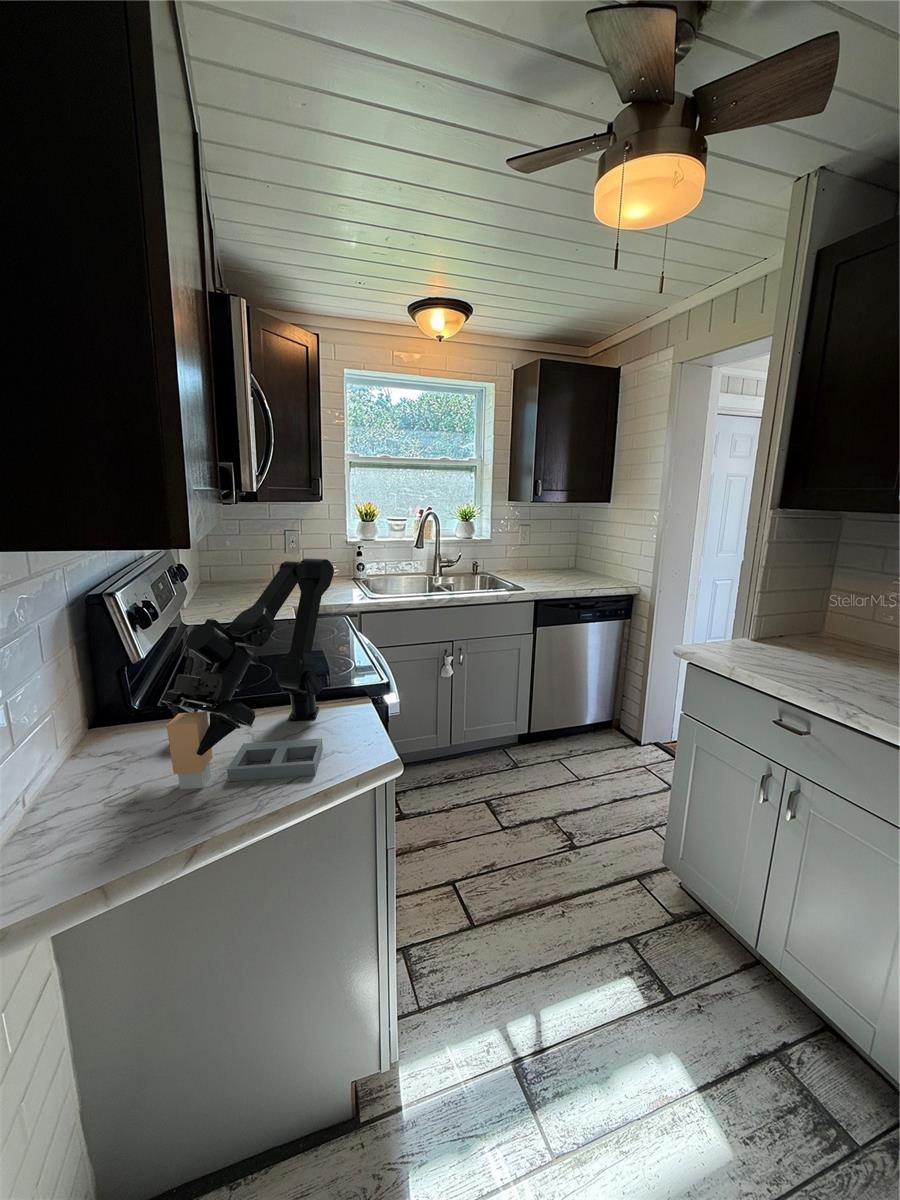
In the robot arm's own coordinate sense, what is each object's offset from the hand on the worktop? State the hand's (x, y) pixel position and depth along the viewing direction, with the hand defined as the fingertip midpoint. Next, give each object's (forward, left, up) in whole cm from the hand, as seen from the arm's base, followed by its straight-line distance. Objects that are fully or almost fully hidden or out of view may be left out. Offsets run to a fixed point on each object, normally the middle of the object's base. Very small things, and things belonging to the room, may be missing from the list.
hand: (184, 751), depth 88 cm
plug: (-1, +1, -7) cm, 7 cm away
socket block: (-6, +15, -7) cm, 17 cm away
